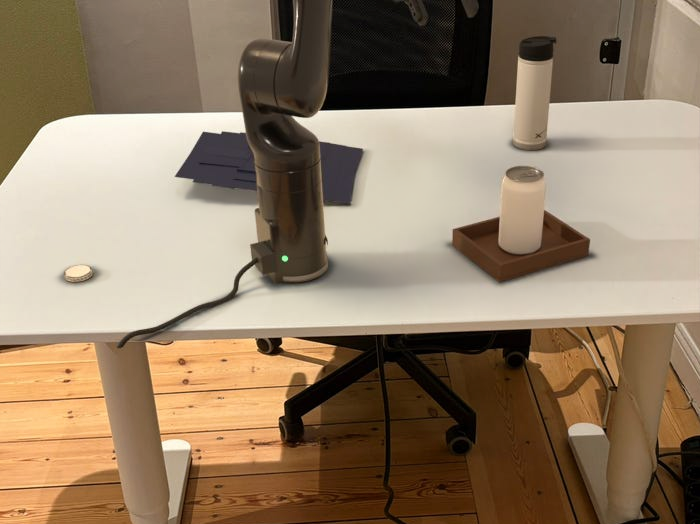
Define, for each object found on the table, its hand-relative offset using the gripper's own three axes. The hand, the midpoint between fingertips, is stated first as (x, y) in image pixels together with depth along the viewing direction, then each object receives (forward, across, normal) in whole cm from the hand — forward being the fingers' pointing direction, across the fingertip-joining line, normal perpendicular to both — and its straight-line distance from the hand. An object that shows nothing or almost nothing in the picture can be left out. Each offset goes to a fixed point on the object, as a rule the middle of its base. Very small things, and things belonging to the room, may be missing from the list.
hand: (449, 18), depth 138 cm
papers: (+3, -20, +40) cm, 45 cm away
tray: (+35, +2, +8) cm, 36 cm away
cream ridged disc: (+17, -59, +27) cm, 67 cm away
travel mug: (+11, +28, +33) cm, 44 cm away
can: (+34, +2, +8) cm, 36 cm away
